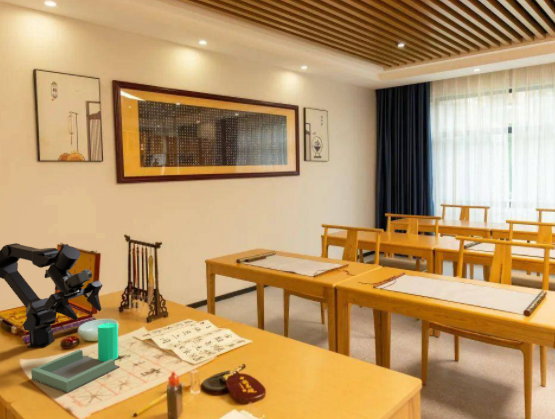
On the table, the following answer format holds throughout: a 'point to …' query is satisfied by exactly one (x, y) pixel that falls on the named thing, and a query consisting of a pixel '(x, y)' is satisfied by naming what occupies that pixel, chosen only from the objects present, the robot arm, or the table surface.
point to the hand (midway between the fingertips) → (89, 314)
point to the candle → (107, 341)
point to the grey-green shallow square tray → (72, 371)
